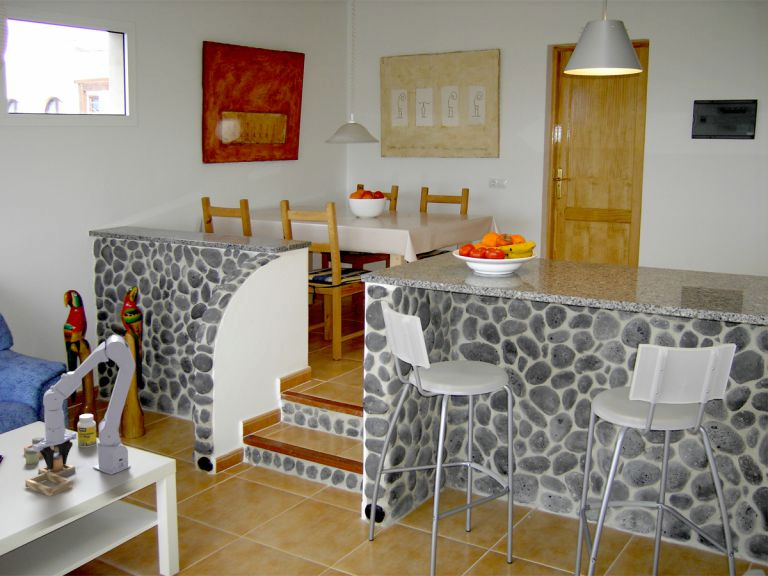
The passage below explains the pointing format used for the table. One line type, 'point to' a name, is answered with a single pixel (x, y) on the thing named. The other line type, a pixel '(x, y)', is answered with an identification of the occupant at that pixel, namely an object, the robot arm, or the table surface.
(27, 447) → the copper square frame
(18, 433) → the table surface
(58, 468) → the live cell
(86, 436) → the pill bottle
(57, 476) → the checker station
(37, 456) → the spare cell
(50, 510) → the table surface
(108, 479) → the table surface
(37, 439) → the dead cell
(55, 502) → the table surface
